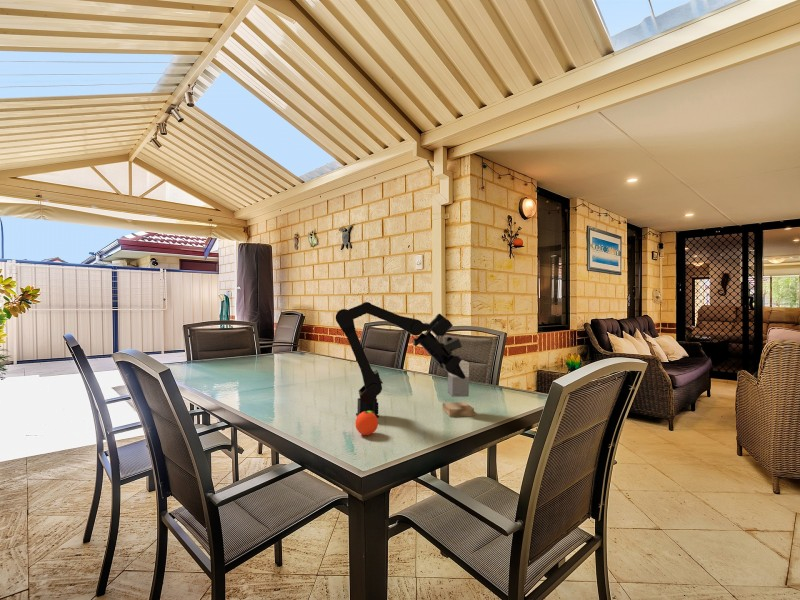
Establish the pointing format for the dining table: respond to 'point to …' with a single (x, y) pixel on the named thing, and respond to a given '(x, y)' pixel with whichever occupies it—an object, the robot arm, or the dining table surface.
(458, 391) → the block
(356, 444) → the dining table surface
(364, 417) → the clementine
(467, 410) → the stand
